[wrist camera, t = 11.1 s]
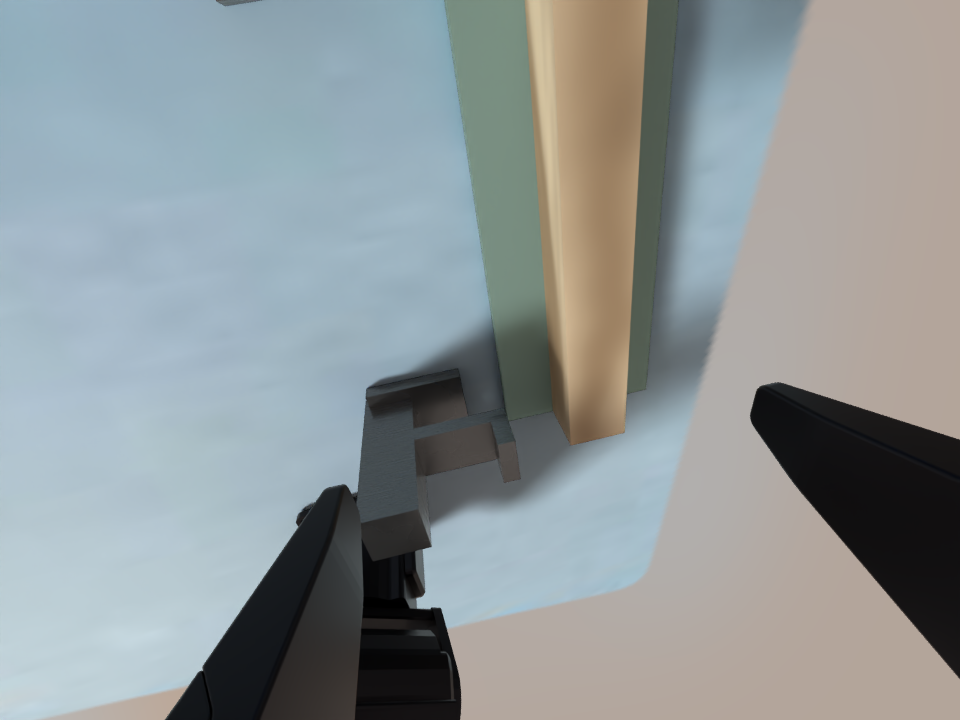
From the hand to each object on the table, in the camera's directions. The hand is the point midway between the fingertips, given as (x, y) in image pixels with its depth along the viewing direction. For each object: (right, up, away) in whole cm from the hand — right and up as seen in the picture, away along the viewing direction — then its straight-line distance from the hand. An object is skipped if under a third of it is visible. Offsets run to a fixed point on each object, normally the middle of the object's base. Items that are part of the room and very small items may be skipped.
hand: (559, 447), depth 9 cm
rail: (+2, +9, +10) cm, 13 cm away
